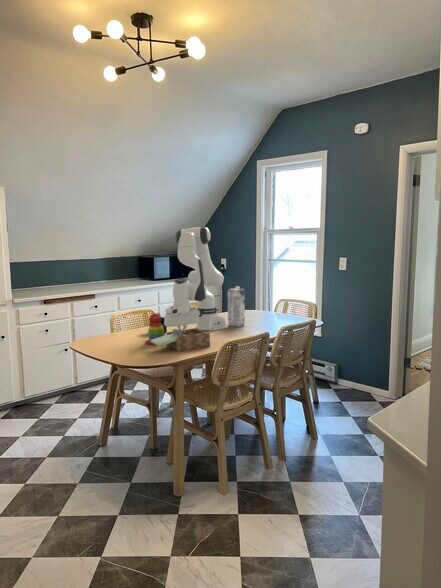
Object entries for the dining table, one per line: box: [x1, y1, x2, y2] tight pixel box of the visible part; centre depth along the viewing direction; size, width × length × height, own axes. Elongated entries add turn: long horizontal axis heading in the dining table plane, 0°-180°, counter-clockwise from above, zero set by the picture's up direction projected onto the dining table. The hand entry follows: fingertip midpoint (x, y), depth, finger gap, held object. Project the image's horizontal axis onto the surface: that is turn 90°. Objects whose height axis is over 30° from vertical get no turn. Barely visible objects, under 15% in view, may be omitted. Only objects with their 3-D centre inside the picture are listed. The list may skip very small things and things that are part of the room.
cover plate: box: [151, 328, 187, 347], centre depth 239 cm, size 17×11×4 cm, turn 122°
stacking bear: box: [144, 312, 165, 346], centre depth 254 cm, size 11×10×18 cm
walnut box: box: [166, 327, 211, 353], centre depth 246 cm, size 20×14×8 cm
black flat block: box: [149, 316, 168, 334], centre depth 280 cm, size 4×10×10 cm, turn 78°
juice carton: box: [227, 286, 246, 328], centre depth 297 cm, size 9×10×27 cm
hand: (182, 332), depth 243 cm, fingers closed
